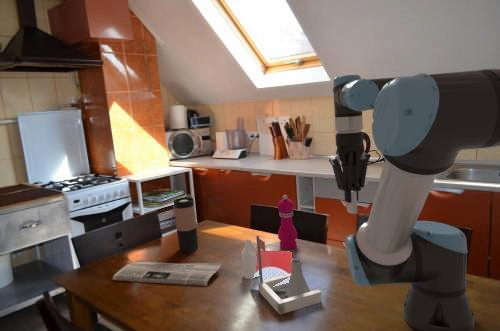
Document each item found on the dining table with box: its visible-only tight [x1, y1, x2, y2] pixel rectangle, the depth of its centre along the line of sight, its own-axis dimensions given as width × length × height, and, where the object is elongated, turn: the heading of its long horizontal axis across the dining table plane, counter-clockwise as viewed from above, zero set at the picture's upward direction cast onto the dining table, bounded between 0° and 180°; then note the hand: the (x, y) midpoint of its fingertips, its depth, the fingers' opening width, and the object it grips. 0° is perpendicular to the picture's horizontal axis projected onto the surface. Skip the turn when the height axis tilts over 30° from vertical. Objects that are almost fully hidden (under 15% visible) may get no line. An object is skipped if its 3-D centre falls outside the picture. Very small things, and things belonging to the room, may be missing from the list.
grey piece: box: [240, 238, 258, 280], centre depth 119 cm, size 6×12×6 cm
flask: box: [284, 258, 311, 298], centre depth 105 cm, size 7×7×10 cm
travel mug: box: [173, 196, 199, 253], centre depth 146 cm, size 8×8×20 cm
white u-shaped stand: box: [256, 235, 323, 315], centre depth 104 cm, size 14×12×17 cm
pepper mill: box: [277, 194, 298, 251], centre depth 140 cm, size 7×7×20 cm
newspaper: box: [112, 260, 223, 287], centre depth 126 cm, size 35×12×4 cm, turn 74°
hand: (352, 212), depth 109 cm, fingers closed
